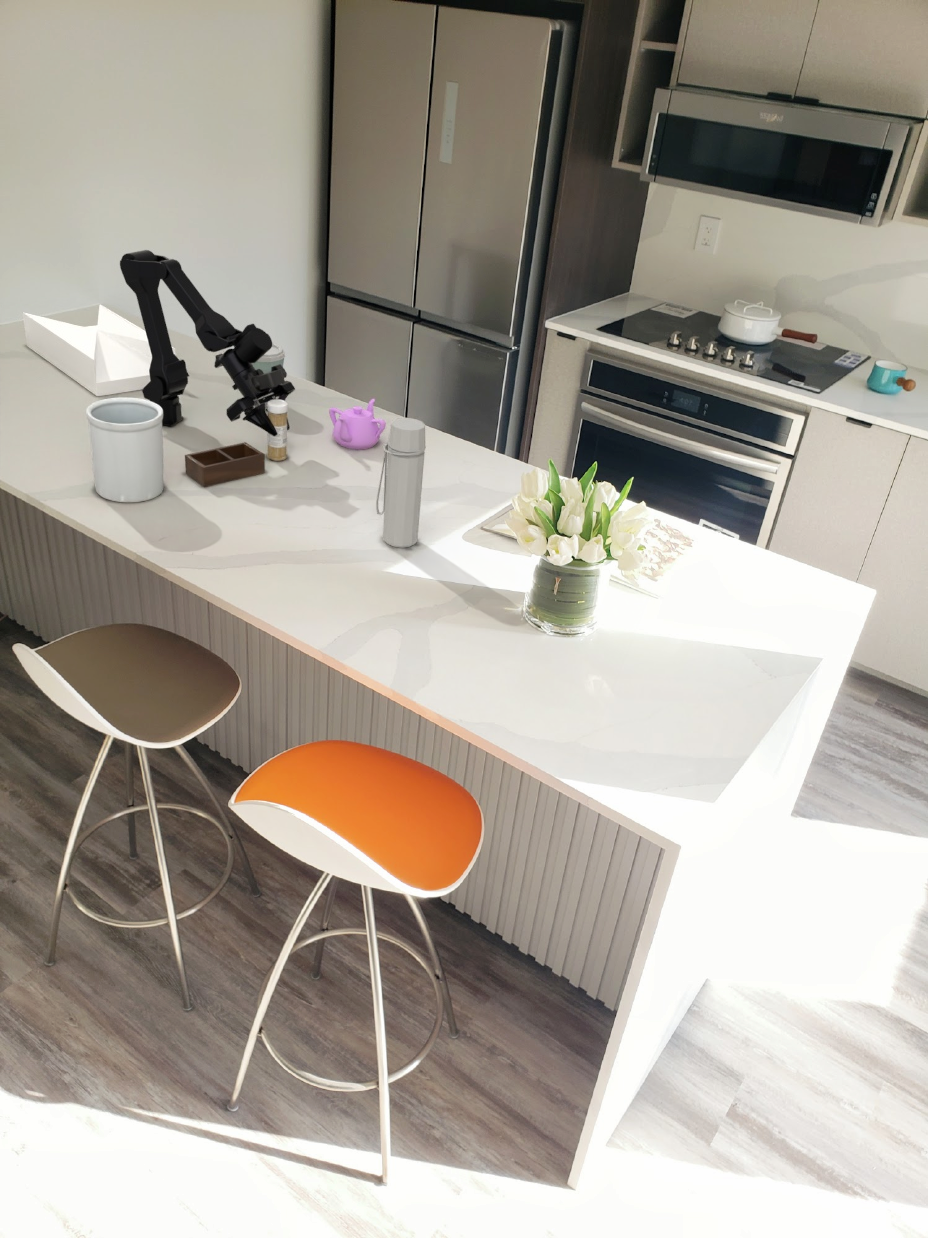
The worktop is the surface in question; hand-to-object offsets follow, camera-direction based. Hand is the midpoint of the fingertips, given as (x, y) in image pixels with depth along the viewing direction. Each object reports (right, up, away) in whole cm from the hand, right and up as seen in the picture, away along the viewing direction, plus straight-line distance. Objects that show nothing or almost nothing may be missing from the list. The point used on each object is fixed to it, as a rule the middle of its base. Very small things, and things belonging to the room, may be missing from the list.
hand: (282, 432), depth 230 cm
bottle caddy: (-11, -10, -6) cm, 17 cm away
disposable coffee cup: (-11, +14, +33) cm, 38 cm away
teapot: (+15, +1, +17) cm, 23 cm away
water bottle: (+28, -27, -25) cm, 46 cm away
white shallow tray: (-58, +27, +46) cm, 79 cm away
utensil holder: (-29, -15, -17) cm, 37 cm away
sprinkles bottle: (-2, -5, +4) cm, 7 cm away
